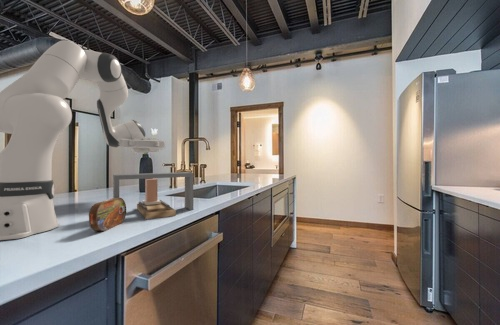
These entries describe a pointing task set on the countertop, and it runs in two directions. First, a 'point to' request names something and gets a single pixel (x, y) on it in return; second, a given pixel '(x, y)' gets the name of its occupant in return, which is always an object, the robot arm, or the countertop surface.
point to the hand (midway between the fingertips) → (145, 143)
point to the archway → (187, 176)
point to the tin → (107, 214)
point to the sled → (151, 192)
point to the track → (156, 210)
